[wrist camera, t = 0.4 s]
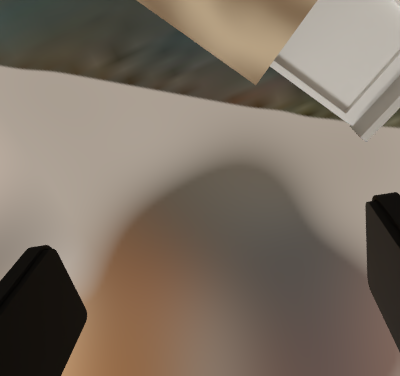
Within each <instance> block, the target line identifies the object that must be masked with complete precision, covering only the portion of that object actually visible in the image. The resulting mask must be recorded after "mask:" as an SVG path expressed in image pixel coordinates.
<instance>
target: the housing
mask: <svg viewBox="0 0 400 376" xmlns="http://www.w3.org/2000/svg"><path fill="white" fill-rule="evenodd" d="M137 1H139V2H140V3H141V4H143V5H144V6H146V7H147V8H148V9H150V10H151V11H153V12H154V13H155V14H157V15H158V16H160V17H161V18H162V19H164V20H165V21H167V22H168V23H169V24H171V25H172V26H174V27H175V28H176V29H178V30H179V31H181V32H182V33H183V34H185V35H186V36H188V37H189V38H190V39H192V40H193V41H195V42H196V43H197V44H199V45H200V46H202V47H203V48H204V49H206V50H207V51H209V52H210V53H211V54H213V55H214V56H216V57H217V58H218V59H220V60H221V61H223V62H224V63H225V64H227V65H228V66H230V67H231V68H233V69H234V70H235V71H237V72H238V73H240V74H241V75H242V76H244V77H245V78H247V79H248V80H249V81H251V82H252V83H254V84H255V85H256V84H257V83H258V81H259V80H260V79H261V77H262V76H263V75H264V73H265V72H266V70H267V69H268V68H269V66H270V65H271V64H272V62H273V61H274V59H275V58H276V57H277V55H278V54H279V53H280V51H281V50H282V48H283V47H284V46H285V44H286V43H287V42H288V40H289V39H290V37H291V36H292V35H293V33H294V32H295V31H296V29H297V28H298V26H299V25H300V24H301V22H302V21H303V20H304V18H305V17H306V15H307V14H308V13H309V11H310V10H311V9H312V7H313V6H314V4H315V3H316V2H317V0H137Z"/></svg>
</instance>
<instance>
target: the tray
mask: <svg viewBox="0 0 400 376" xmlns="http://www.w3.org/2000/svg"><path fill="white" fill-rule="evenodd" d="M270 67H272V68H273V69H274V70H276V71H277V72H279V73H280V74H281V75H283V76H284V77H285V78H287V79H288V80H289V81H291V82H292V83H294V84H295V85H296V86H298V87H299V88H300V89H302V90H303V91H304V92H306V93H307V94H309V95H310V96H311V97H313V98H314V99H315V100H317V101H318V102H319V103H321V104H322V105H324V106H325V107H326V108H328V109H329V110H330V111H332V112H333V113H334V114H336V115H337V116H339V117H340V118H341V119H343V120H344V121H345V122H347V123H348V124H350V127H351V128H352V129H353V130H354V131H355V132H356V134H358V136H359V137H360V138H362V139H363V140H364V141H366V142H367V141H368V140H369V139H370V138H371V137H372V136H373V135H374V134H375V133H376V131H378V130H379V129H380V128H381V127H382V126H383V125H384V124H385V123H386V121H387V120H388V119H389V118H390V117H391V116H392V115H393V114H394V113H395V112H396V111H397V110H398V109H399V108H400V0H317V2H316V3H315V4H314V6H313V7H312V9H311V10H310V11H309V13H308V14H307V15H306V17H305V18H304V20H303V21H302V22H301V24H300V25H299V26H298V28H297V29H296V31H295V32H294V33H293V35H292V36H291V37H290V39H289V40H288V42H287V43H286V44H285V46H284V47H283V48H282V50H281V51H280V53H279V54H278V55H277V57H276V58H275V59H274V61H273V62H272V64H271V65H270Z"/></svg>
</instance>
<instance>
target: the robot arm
mask: <svg viewBox="0 0 400 376" xmlns="http://www.w3.org/2000/svg"><path fill="white" fill-rule="evenodd" d="M366 237H367V238H366V239H367V240H366V241H367V276H368V284H369V287H370V290H371V293H372V295H373V297H374V299H375V301H376V303H377V305H378V307H379V309H380V311H381V313H382V315H383V318H384V320H385V322H386V324H387V326H388V328H389V330H390V332H391V334H392V337H393V339H394V341H395V343H396V345H397V347H398V349H399V351H400V195H399V194H398V193H396V192H394V193H388V194H381V195H375V196H373V198H372V201H370V202H367V203H366ZM86 320H87V311H86V309H85V306H84V304H83V303H82V301H81V298H80V296H79V295H78V292H77V290H76V289H75V287H74V285H73V283H72V281H71V279H70V277H69V275H68V273H67V271H66V269H65V267H64V265H63V263H62V261H61V259H60V257H59V255H58V253H57V251H56V250H55V249H52V248H51V247H50V246H48V245H44V246H38V247H31V248H28V249H27V250H26V251H25V252H24V253H23V255H22V256H21V257H20V258H19V259H18V261H17V262H16V263H15V264H14V265H13V267H12V268H11V269H10V270H9V271H8V273H7V274H6V275H5V276H4V277H3V279H2V280H1V281H0V376H61V374H62V372H63V370H64V368H65V366H66V364H67V362H68V359H69V357H70V355H71V353H72V351H73V349H74V346H75V344H76V342H77V340H78V338H79V336H80V333H81V331H82V329H83V327H84V325H85V323H86Z"/></svg>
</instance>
